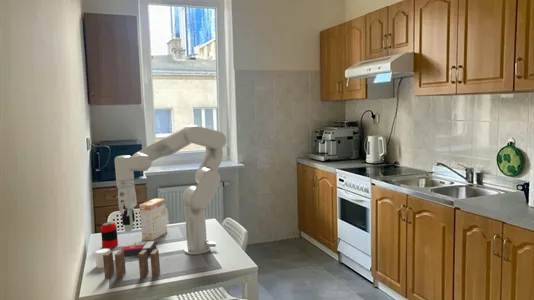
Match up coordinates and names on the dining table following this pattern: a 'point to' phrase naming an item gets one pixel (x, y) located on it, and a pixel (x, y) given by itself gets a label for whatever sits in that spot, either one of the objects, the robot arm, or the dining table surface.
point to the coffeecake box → (153, 219)
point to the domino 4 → (143, 263)
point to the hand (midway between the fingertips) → (128, 222)
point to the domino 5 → (155, 262)
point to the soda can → (109, 235)
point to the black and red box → (138, 248)
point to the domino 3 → (130, 227)
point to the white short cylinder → (100, 257)
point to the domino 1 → (108, 264)
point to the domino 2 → (120, 264)
